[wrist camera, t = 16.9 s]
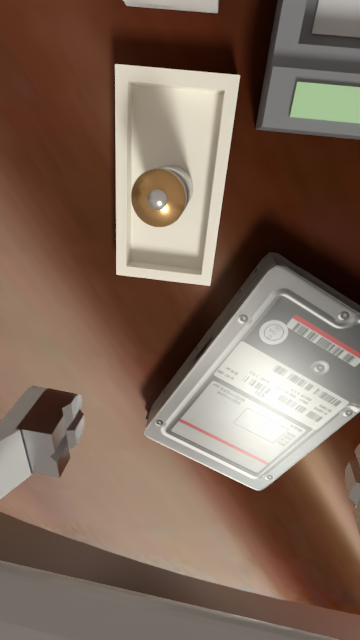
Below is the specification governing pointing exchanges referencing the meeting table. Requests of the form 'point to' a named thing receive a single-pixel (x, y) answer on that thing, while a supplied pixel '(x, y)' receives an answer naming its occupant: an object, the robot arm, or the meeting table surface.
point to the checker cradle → (313, 70)
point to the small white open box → (177, 4)
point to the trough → (172, 149)
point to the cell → (161, 195)
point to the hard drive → (265, 377)
